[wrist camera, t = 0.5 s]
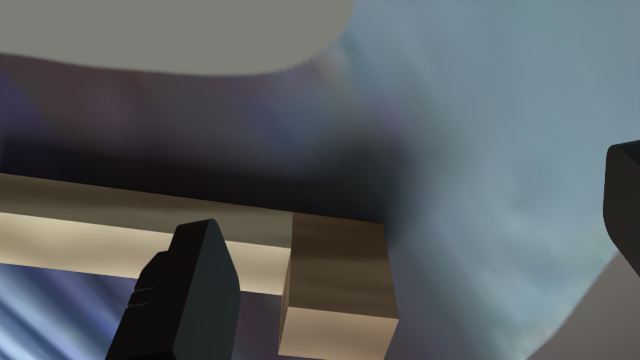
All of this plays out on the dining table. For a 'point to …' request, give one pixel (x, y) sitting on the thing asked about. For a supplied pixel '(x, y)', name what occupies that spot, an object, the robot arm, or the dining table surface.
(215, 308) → the robot arm
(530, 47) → the dining table surface
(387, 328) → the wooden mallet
